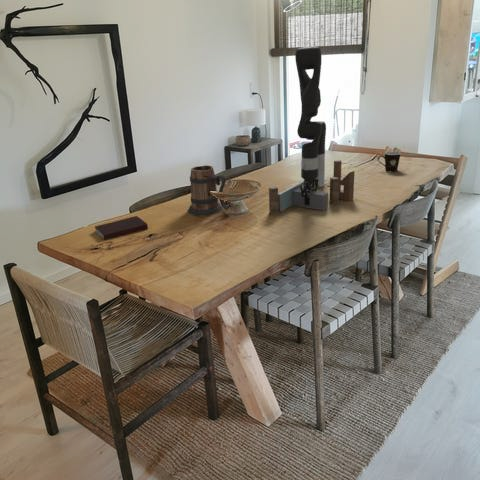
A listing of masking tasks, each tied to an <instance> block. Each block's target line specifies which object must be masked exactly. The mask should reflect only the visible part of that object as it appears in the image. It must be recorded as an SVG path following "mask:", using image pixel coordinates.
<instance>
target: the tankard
mask: <svg viewBox="0 0 480 480" xmlns="http://www.w3.org/2000/svg"><path fill="white" fill-rule="evenodd" d="M226 179H227V178H226V177H225V175H223V174H219V175H216V174H215V169H214V167H213V166H211V165H208V164H207V165H206V164H205V165H201V166H200V165H199V166H193V167H191V168H190V176H189V181H190V195H191V196H190V202H191V203H190V206H189V208H188V209H187V213H188V214H190V215H192V216H199V217H200V216H202V217H203V216H211V215H216V214H218V213H221V212H222V211H223V210H228V208H229V207H230V205H231V204H230V202H228V201H226V200H225V199H224V200H221V199H219V197H218V198H216V197H215V196H213V195H212V194H211V193H210V191H217V192H218V193H219V192H223V191H224V188H225V185H226V181H227V180H226ZM217 186H220V187H219V189H217ZM227 202H228V203H227ZM228 204H229V205H228ZM226 205H227V206H228V207H227V206H226ZM230 208H231V207H230ZM230 208H229V209H230Z"/></svg>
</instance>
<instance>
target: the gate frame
mask: <svg viewBox="0 0 480 480" xmlns="http://www.w3.org/2000/svg"><path fill="white" fill-rule="evenodd" d="M278 194H279V188H278V187H277V186H269V187H268V204H269V209H268V210H269V214H270V213H271V214H270V215H272V216H274V214H275V215H279V212H278ZM339 200H340V199H339V178H337V177H333V176H332V177H330V178H329V201H328V202H329V203H330V204H331V205H336V204H339ZM329 203H328V204H329Z"/></svg>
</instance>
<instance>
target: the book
mask: <svg viewBox="0 0 480 480" xmlns="http://www.w3.org/2000/svg"><path fill="white" fill-rule="evenodd" d="M148 227H149V225H148V223H147V222H146V221H144V220H143V219H141V218H140V217H139V216H138V215H135V216H131V217H126V218H123V219H120V220H116V221H112V222H108V223H103V224H98V225H96V226H94V228H95V230H94V231H95V233H96V234H98V235H99V236H100V237H101V238H102V239H103V240H105V241H106V240H109V239H113V238H117V237H118V238H119V237H121V236H125V235H129V234H133V233H137V232H141V231H145V230H148Z"/></svg>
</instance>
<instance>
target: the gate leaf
mask: <svg viewBox="0 0 480 480" xmlns="http://www.w3.org/2000/svg"><path fill="white" fill-rule="evenodd" d="M303 184H304V180H303V181H301V182H299V183H297V184H295V185H293V186H291V187H289V188H288V189H285V190H283V191H282V192H280V193H279V192H278V213H280V212H282V211H284V210H286V209H287V208H289V207H291V206H293V205H292V191H293V190H295V189H296V188H297V189H301V188H300V186H301V185H303Z"/></svg>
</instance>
